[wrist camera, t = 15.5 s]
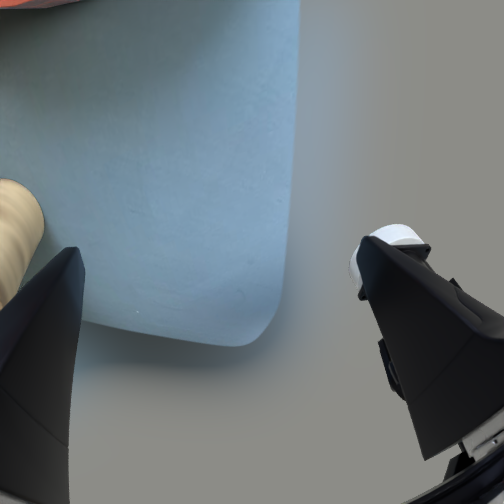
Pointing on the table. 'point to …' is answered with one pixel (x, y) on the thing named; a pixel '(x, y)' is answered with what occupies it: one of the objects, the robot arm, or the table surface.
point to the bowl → (31, 3)
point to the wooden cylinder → (17, 235)
